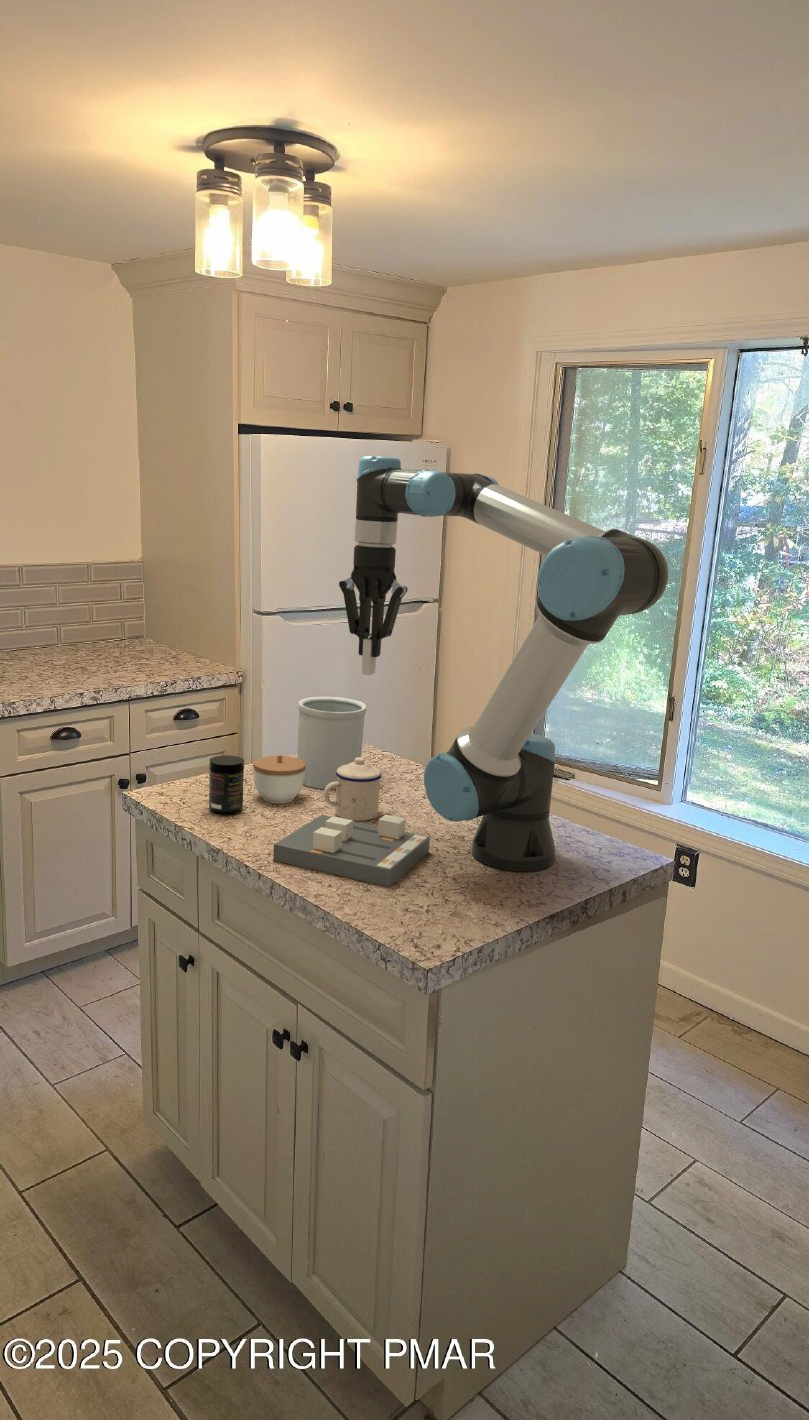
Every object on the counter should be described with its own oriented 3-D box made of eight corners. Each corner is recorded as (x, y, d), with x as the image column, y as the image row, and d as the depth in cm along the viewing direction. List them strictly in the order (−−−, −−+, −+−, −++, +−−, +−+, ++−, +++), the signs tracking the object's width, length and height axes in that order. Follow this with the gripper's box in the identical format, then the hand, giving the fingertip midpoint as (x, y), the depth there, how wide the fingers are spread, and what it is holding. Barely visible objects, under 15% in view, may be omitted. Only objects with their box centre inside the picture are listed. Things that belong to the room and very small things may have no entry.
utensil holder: (371, 776, 221) (375, 701, 217) (348, 795, 207) (352, 714, 203) (311, 767, 225) (314, 693, 221) (284, 784, 211) (287, 706, 207)
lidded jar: (242, 795, 202) (243, 752, 200) (286, 787, 209) (287, 745, 207) (270, 810, 195) (271, 765, 192) (314, 802, 201) (316, 758, 199)
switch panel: (428, 852, 178) (429, 836, 177) (389, 887, 161) (390, 869, 161) (321, 829, 186) (322, 814, 185) (273, 860, 169) (273, 843, 169)
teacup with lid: (365, 804, 202) (368, 750, 199) (387, 818, 194) (391, 762, 192) (313, 811, 195) (315, 755, 193) (334, 826, 188) (336, 768, 185)
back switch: (404, 834, 177) (405, 818, 176) (398, 839, 174) (399, 823, 174) (384, 830, 179) (385, 814, 178) (378, 835, 176) (378, 819, 175)
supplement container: (249, 808, 195) (250, 758, 192) (232, 818, 189) (233, 767, 186) (219, 803, 197) (220, 753, 195) (201, 812, 191) (202, 761, 189)
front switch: (341, 847, 169) (342, 831, 168) (333, 853, 166) (334, 836, 165) (320, 843, 170) (321, 827, 170) (312, 848, 168) (313, 832, 167)
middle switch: (352, 836, 175) (353, 820, 174) (344, 841, 172) (345, 825, 171) (332, 832, 176) (333, 816, 175) (324, 837, 173) (325, 821, 173)
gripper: (416, 547, 176) (408, 675, 182) (351, 541, 181) (345, 666, 186) (400, 548, 170) (392, 681, 175) (333, 542, 174) (327, 672, 180)
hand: (368, 673), depth 181 cm, fingers closed
